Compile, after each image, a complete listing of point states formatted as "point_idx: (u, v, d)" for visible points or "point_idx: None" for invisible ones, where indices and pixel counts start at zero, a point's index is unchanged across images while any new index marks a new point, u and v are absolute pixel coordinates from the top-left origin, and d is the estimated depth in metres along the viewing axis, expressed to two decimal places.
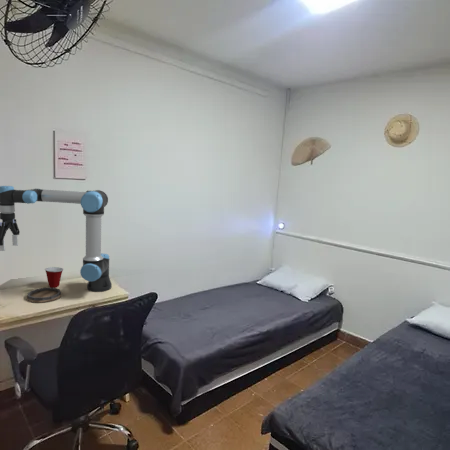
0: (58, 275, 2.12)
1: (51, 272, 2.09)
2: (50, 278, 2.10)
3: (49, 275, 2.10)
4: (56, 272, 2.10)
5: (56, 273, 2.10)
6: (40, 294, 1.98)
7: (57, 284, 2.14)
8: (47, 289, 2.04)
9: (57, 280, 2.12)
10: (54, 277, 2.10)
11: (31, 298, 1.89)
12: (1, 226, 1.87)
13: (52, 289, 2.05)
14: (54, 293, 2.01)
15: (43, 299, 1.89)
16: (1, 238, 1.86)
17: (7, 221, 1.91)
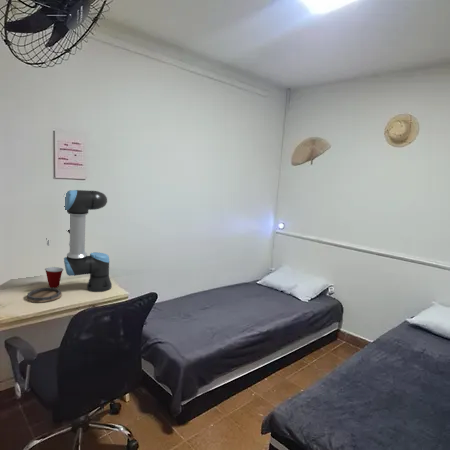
0: (58, 275, 2.12)
1: (51, 272, 2.09)
2: (50, 278, 2.10)
3: (49, 275, 2.10)
4: (56, 272, 2.10)
5: (56, 273, 2.10)
6: (40, 294, 1.98)
7: (57, 284, 2.14)
8: (47, 289, 2.04)
9: (57, 280, 2.12)
10: (54, 277, 2.10)
11: (31, 298, 1.89)
12: None
13: (52, 289, 2.05)
14: (54, 293, 2.01)
15: (43, 299, 1.89)
16: None
17: None
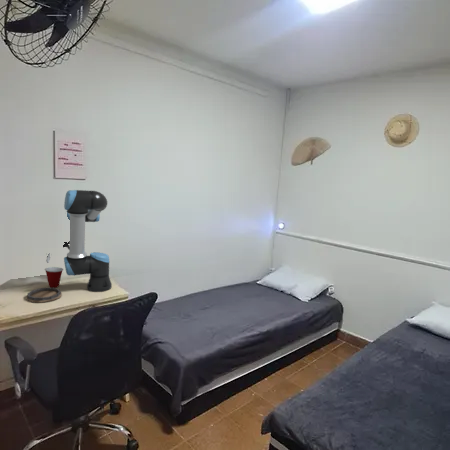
0: (58, 275, 2.12)
1: (51, 272, 2.09)
2: (50, 278, 2.10)
3: (49, 275, 2.10)
4: (56, 272, 2.10)
5: (56, 273, 2.10)
6: (40, 294, 1.98)
7: (57, 284, 2.14)
8: (47, 289, 2.04)
9: (57, 280, 2.12)
10: (54, 277, 2.10)
11: (31, 298, 1.89)
12: None
13: (52, 289, 2.05)
14: (54, 293, 2.01)
15: (43, 299, 1.89)
16: None
17: None
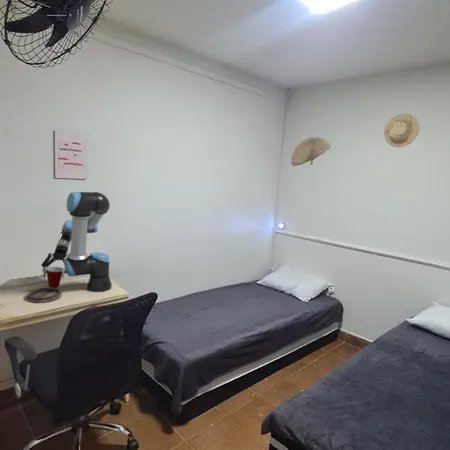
0: (58, 275, 2.12)
1: (52, 272, 2.09)
2: (50, 278, 2.10)
3: (49, 275, 2.10)
4: (57, 272, 2.10)
5: (57, 273, 2.10)
6: (40, 294, 1.98)
7: (57, 284, 2.14)
8: (47, 289, 2.04)
9: (57, 280, 2.12)
10: (54, 277, 2.10)
11: (31, 298, 1.89)
12: None
13: (52, 289, 2.05)
14: (54, 293, 2.01)
15: (43, 299, 1.89)
16: (42, 264, 2.14)
17: (56, 252, 2.20)
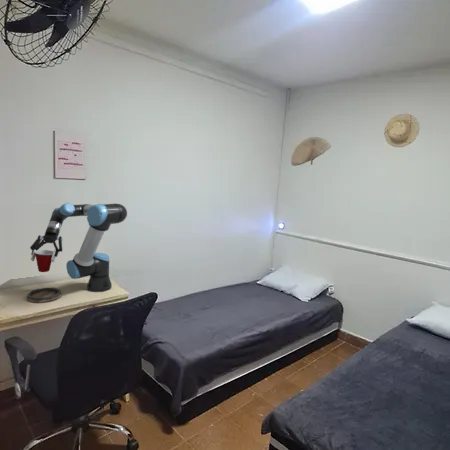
0: (48, 259, 1.96)
1: (40, 255, 1.93)
2: (39, 261, 1.95)
3: (38, 258, 1.94)
4: (46, 255, 1.94)
5: (46, 256, 1.95)
6: (40, 294, 1.98)
7: (47, 268, 1.98)
8: (47, 289, 2.04)
9: (47, 264, 1.97)
10: (44, 260, 1.95)
11: (31, 298, 1.89)
12: None
13: (52, 289, 2.05)
14: (54, 293, 2.01)
15: (43, 299, 1.89)
16: (31, 247, 1.98)
17: (46, 235, 2.04)
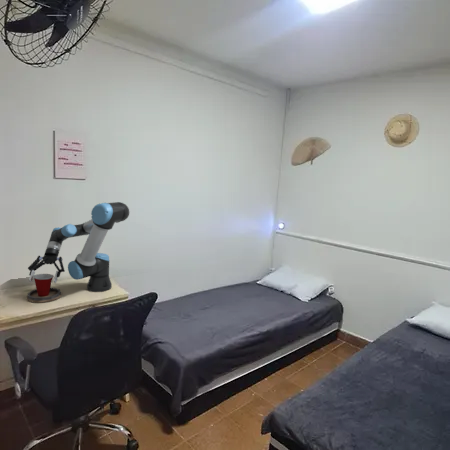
0: (48, 283, 1.94)
1: (40, 279, 1.91)
2: (39, 286, 1.92)
3: (38, 283, 1.92)
4: (45, 279, 1.92)
5: (45, 280, 1.93)
6: None
7: (47, 292, 1.96)
8: None
9: (46, 288, 1.95)
10: (43, 285, 1.93)
11: (31, 298, 1.89)
12: None
13: (52, 289, 2.05)
14: (54, 293, 2.01)
15: (43, 299, 1.89)
16: (29, 268, 1.96)
17: (46, 256, 2.02)
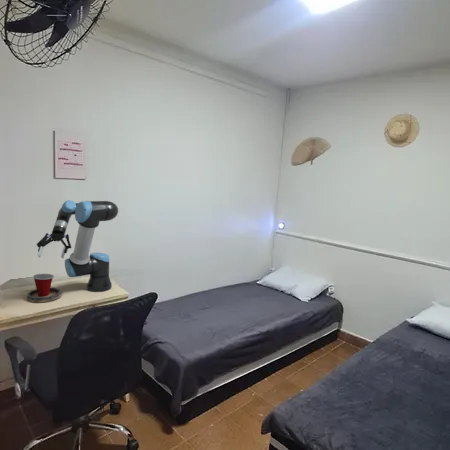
0: (48, 283, 1.94)
1: (40, 280, 1.91)
2: (39, 286, 1.92)
3: (38, 283, 1.92)
4: (45, 280, 1.92)
5: (45, 281, 1.92)
6: None
7: (47, 292, 1.96)
8: None
9: (47, 288, 1.95)
10: (43, 285, 1.93)
11: (31, 298, 1.89)
12: None
13: (52, 289, 2.05)
14: (54, 293, 2.01)
15: (43, 299, 1.89)
16: (38, 244, 2.06)
17: (53, 233, 2.11)
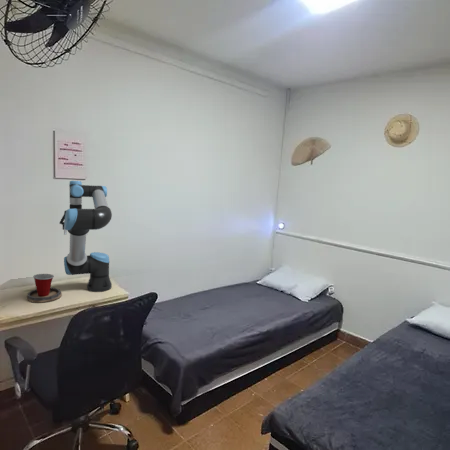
0: (48, 283, 1.94)
1: (40, 279, 1.91)
2: (39, 286, 1.92)
3: (38, 283, 1.92)
4: (45, 279, 1.92)
5: (45, 281, 1.93)
6: None
7: (47, 292, 1.96)
8: None
9: (47, 288, 1.95)
10: (43, 285, 1.93)
11: (31, 298, 1.89)
12: None
13: (52, 289, 2.05)
14: (54, 293, 2.01)
15: (43, 299, 1.89)
16: (61, 223, 2.22)
17: None
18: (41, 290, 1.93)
